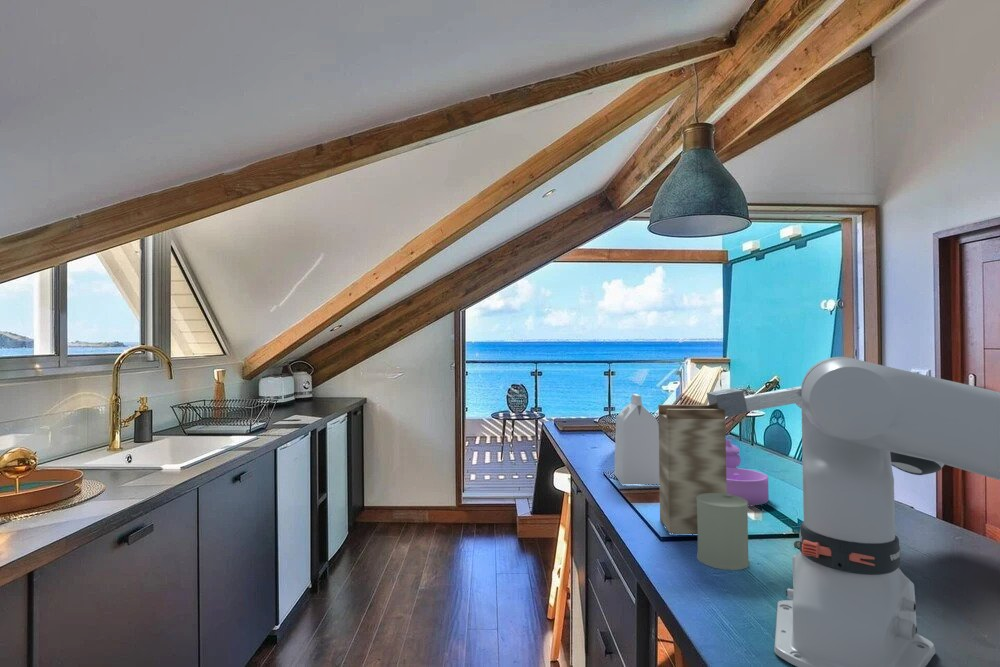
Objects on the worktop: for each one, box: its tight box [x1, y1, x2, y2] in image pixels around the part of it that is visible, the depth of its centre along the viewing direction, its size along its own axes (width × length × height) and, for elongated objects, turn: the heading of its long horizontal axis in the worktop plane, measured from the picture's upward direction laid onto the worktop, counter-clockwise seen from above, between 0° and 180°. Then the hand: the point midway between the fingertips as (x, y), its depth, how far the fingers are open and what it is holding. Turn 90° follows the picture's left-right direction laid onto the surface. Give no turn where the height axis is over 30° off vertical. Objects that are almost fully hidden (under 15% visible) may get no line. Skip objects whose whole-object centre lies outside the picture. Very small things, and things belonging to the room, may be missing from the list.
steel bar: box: [706, 385, 802, 418], centre depth 119 cm, size 22×6×5 cm, turn 87°
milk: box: [613, 393, 660, 484], centre depth 161 cm, size 12×12×26 cm
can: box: [696, 493, 751, 571], centre depth 101 cm, size 9×9×12 cm
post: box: [658, 404, 727, 535], centre depth 119 cm, size 12×10×27 cm
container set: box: [726, 438, 770, 505], centre depth 147 cm, size 25×15×13 cm, turn 166°
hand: (798, 390), depth 118 cm, fingers closed on steel bar, 3 cm apart
